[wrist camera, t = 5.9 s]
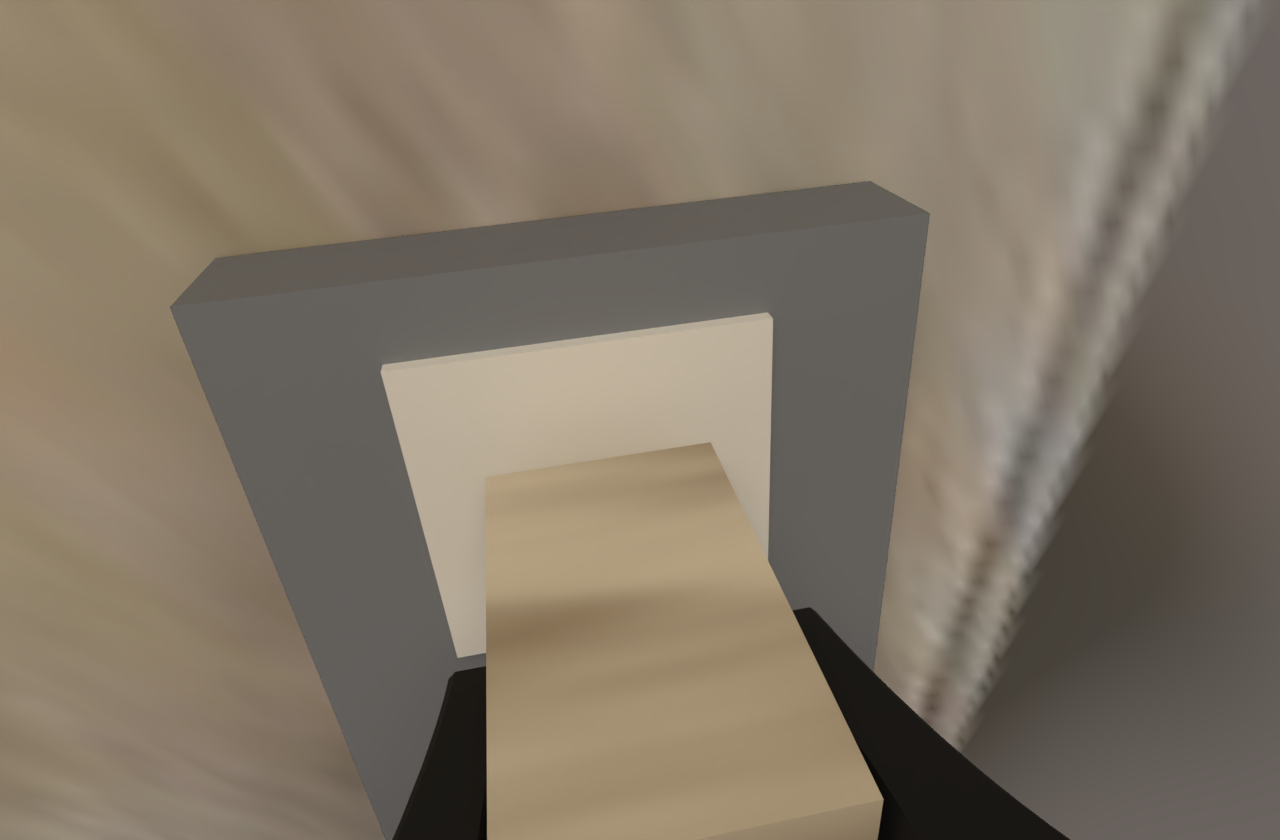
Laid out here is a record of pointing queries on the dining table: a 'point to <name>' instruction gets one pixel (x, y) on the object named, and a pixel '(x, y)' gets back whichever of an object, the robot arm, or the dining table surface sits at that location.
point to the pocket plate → (553, 412)
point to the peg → (653, 666)
